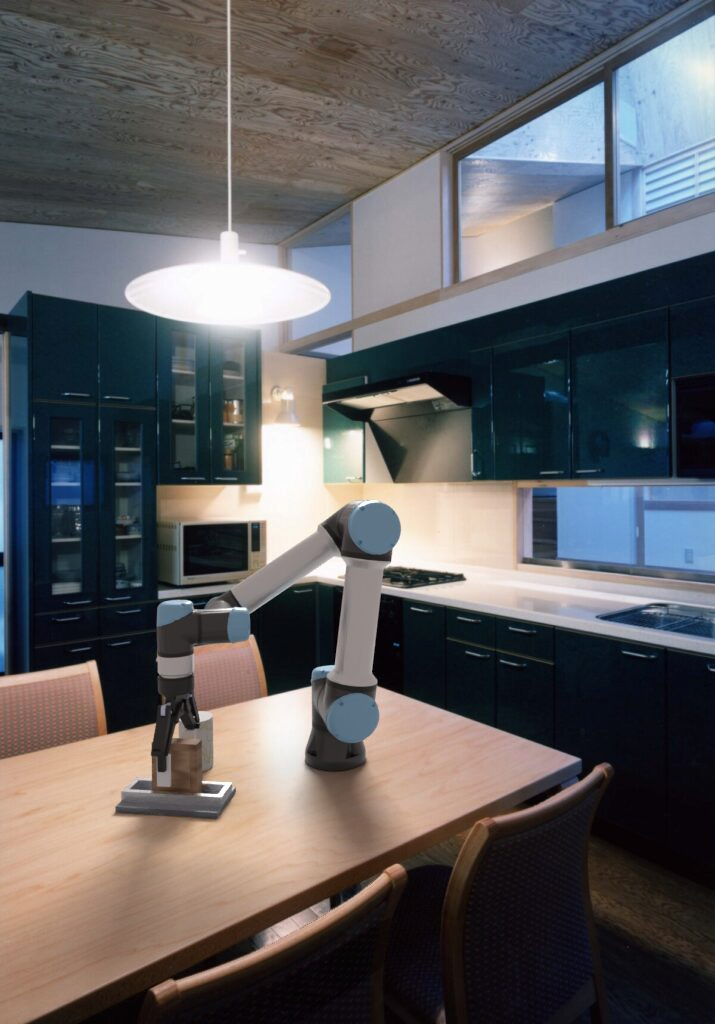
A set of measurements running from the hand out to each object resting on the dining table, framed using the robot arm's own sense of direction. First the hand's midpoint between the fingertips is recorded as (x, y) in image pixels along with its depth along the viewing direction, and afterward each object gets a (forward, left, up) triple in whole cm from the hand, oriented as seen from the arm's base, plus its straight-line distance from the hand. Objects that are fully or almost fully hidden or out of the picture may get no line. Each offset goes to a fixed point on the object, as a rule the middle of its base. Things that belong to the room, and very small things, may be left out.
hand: (177, 771), depth 140 cm
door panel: (0, 0, -5) cm, 5 cm away
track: (0, 0, -7) cm, 7 cm away
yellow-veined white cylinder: (+3, -18, -7) cm, 20 cm away
